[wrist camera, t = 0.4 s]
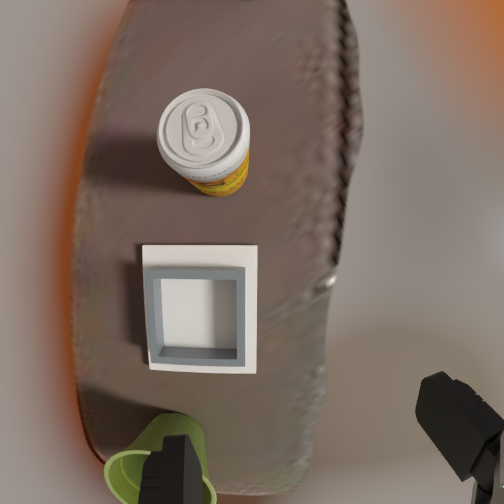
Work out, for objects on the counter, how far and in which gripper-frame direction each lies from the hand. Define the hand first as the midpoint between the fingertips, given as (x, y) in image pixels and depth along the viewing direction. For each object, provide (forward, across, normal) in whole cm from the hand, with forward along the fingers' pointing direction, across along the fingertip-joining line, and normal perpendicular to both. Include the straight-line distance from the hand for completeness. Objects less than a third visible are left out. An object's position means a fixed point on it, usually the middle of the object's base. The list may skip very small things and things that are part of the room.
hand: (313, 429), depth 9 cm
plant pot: (+22, +12, +22) cm, 34 cm away
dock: (+25, +6, +6) cm, 26 cm away
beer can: (+28, +1, -8) cm, 29 cm away
